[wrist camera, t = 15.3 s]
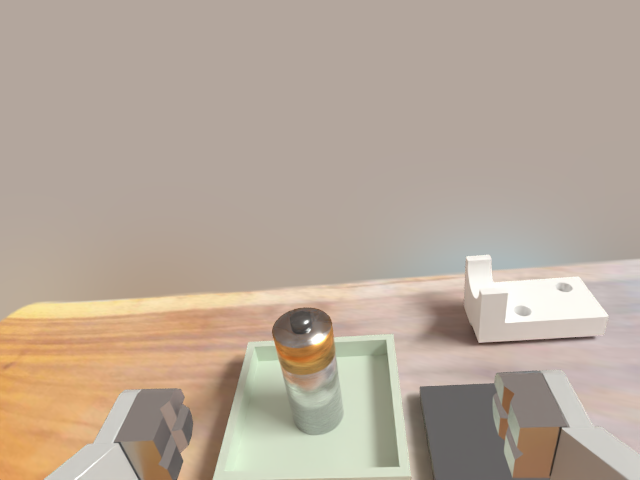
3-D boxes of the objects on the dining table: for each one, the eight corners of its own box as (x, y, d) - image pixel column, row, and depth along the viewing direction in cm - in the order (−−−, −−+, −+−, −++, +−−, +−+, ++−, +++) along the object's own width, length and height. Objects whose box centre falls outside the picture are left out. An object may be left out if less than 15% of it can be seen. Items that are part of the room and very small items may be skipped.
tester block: (436, 497, 37) (437, 473, 35) (419, 397, 45) (419, 374, 44) (566, 495, 36) (573, 470, 34) (524, 392, 44) (528, 368, 43)
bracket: (477, 349, 50) (481, 294, 46) (463, 307, 56) (466, 256, 52) (602, 342, 49) (617, 285, 45) (573, 300, 55) (584, 247, 51)
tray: (220, 501, 39) (212, 480, 37) (253, 361, 52) (248, 342, 51) (411, 498, 37) (411, 476, 35) (394, 354, 51) (393, 333, 49)
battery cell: (289, 436, 42) (265, 341, 36) (294, 392, 47) (274, 300, 41) (343, 435, 42) (329, 337, 36) (344, 390, 46) (331, 296, 40)
